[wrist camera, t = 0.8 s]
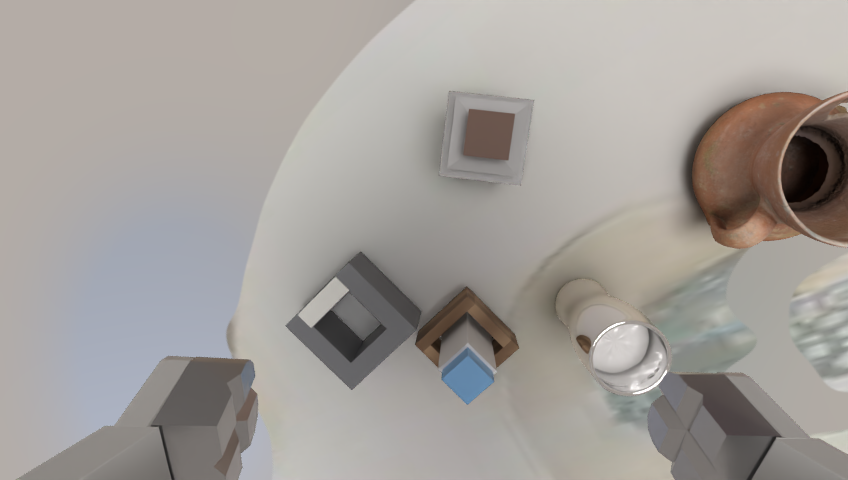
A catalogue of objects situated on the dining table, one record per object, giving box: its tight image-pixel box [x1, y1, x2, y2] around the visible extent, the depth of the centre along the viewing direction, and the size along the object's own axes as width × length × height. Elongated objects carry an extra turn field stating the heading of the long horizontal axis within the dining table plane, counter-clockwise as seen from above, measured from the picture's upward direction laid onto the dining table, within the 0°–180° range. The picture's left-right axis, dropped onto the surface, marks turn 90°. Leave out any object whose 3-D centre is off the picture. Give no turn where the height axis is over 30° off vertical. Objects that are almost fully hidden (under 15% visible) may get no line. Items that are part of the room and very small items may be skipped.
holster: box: [415, 287, 519, 368], centre depth 51 cm, size 8×8×4 cm
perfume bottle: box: [439, 91, 534, 186], centre depth 41 cm, size 7×7×18 cm
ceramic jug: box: [692, 91, 848, 249], centre depth 41 cm, size 18×14×14 cm
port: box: [286, 252, 421, 390], centre depth 51 cm, size 10×10×6 cm
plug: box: [438, 312, 497, 405], centre depth 47 cm, size 4×4×12 cm
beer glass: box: [555, 278, 672, 396], centre depth 44 cm, size 7×7×15 cm
